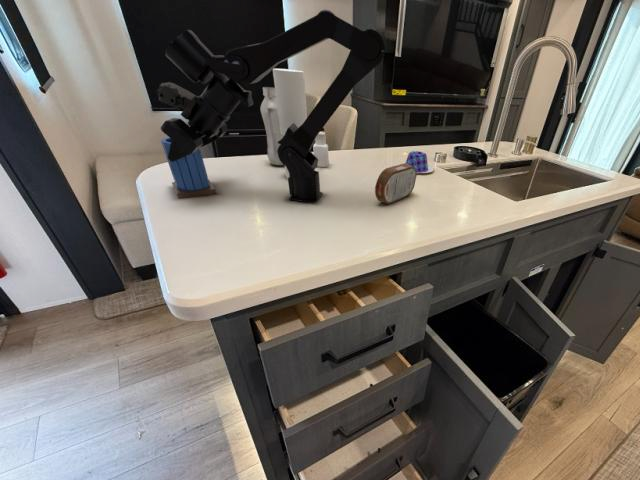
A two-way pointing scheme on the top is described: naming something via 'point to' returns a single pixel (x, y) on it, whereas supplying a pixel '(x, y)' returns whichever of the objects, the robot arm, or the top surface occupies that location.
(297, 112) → the cylindrical container
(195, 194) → the stand
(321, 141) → the pepper shaker
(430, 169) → the blue checkered hat
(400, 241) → the top surface
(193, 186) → the blue ribbed vase
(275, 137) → the plastic bottle
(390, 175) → the tin
